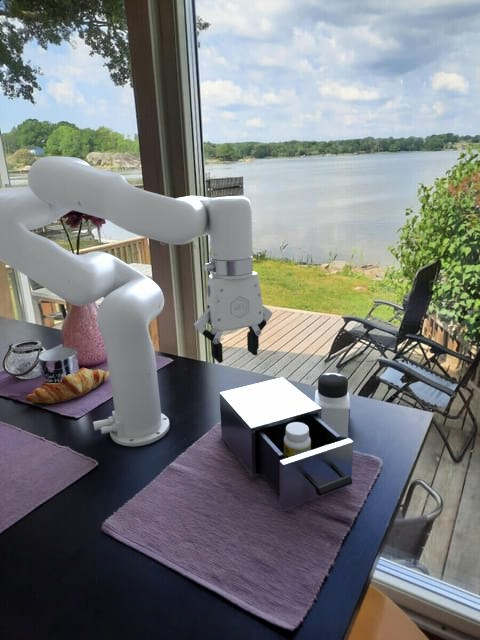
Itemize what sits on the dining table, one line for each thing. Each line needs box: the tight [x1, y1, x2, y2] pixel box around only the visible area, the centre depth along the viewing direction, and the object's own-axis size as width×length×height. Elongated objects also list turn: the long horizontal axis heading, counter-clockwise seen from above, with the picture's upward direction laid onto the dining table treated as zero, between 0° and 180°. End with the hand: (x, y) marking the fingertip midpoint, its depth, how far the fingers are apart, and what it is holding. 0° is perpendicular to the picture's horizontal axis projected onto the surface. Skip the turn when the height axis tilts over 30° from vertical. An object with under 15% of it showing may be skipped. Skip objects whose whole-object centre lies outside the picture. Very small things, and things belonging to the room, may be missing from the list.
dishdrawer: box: [219, 376, 322, 480], centre depth 87 cm, size 15×15×11 cm
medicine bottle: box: [314, 372, 351, 439], centre depth 92 cm, size 7×7×12 cm
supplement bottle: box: [284, 422, 311, 459], centre depth 77 cm, size 5×5×8 cm
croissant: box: [25, 366, 110, 405], centre depth 112 cm, size 21×10×8 cm, turn 133°
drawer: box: [255, 414, 354, 512], centre depth 76 cm, size 18×13×9 cm
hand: (235, 355), depth 86 cm, fingers open, 6 cm apart
